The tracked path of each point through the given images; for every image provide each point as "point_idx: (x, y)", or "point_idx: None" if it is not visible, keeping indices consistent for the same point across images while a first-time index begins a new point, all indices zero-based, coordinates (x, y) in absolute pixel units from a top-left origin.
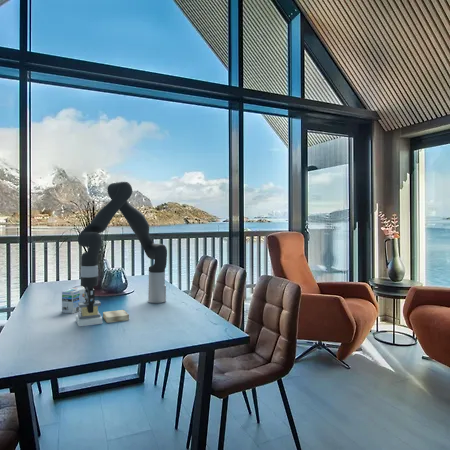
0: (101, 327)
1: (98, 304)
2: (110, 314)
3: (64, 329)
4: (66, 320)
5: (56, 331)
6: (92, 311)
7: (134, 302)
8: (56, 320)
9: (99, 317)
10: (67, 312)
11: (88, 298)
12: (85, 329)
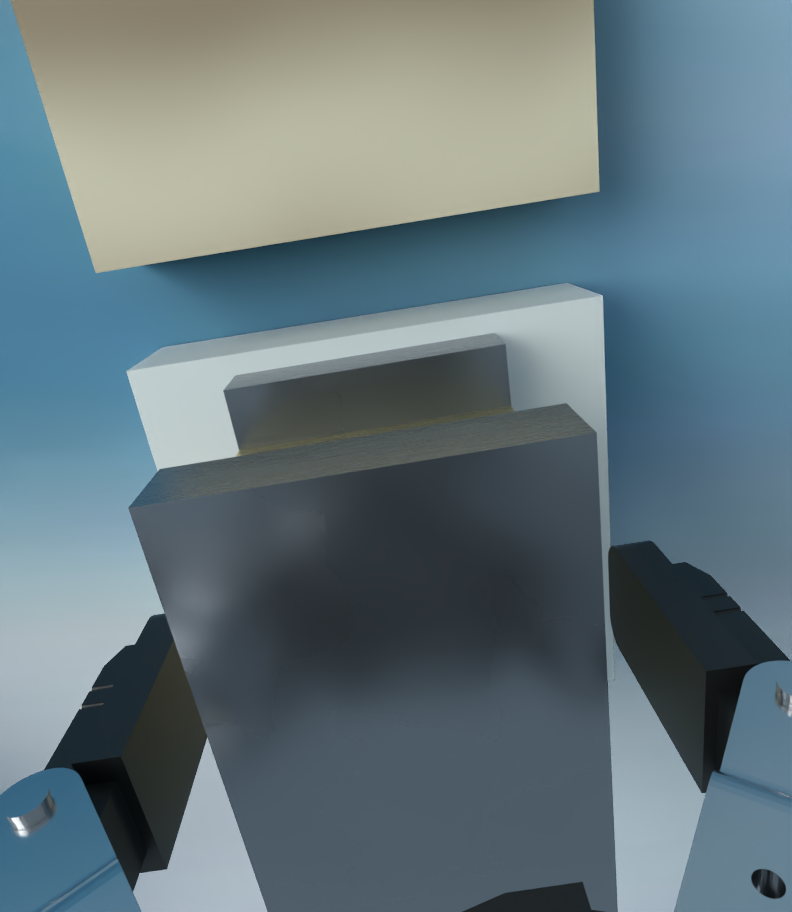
0: (789, 303)
1: (586, 489)
2: (362, 88)
3: (634, 761)
4: (220, 776)
5: (673, 824)
6: (686, 565)
7: None
8: (194, 871)
9: (536, 356)
10: None
11: None
12: (765, 535)
